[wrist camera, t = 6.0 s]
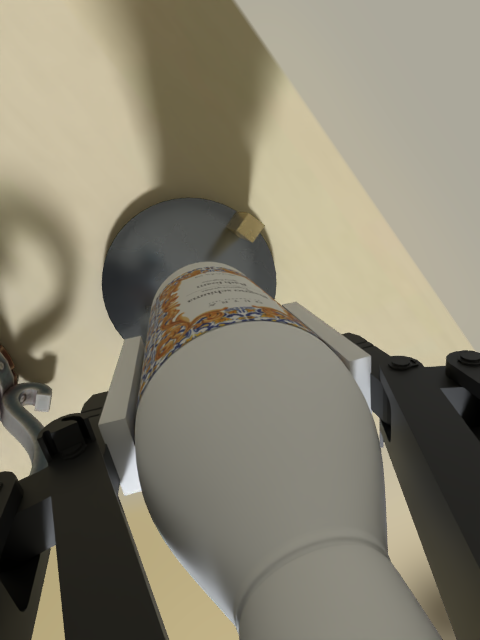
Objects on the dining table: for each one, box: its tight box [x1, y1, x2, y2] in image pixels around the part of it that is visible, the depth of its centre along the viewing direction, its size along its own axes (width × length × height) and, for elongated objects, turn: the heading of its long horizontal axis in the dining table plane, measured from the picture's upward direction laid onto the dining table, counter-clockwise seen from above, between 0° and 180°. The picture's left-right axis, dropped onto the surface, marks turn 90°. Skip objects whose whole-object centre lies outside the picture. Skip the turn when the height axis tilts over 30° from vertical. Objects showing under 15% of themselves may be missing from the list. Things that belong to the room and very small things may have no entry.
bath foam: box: [134, 262, 443, 640], centre depth 12 cm, size 7×7×20 cm
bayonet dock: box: [102, 198, 276, 348], centre depth 25 cm, size 14×14×5 cm
